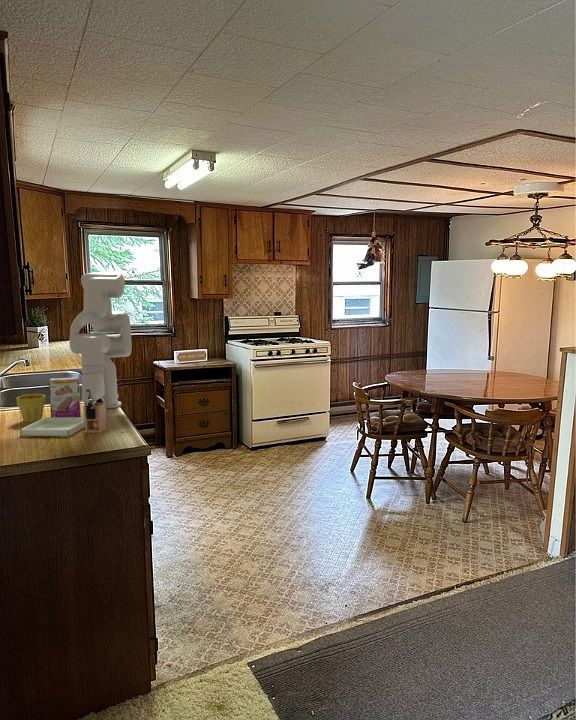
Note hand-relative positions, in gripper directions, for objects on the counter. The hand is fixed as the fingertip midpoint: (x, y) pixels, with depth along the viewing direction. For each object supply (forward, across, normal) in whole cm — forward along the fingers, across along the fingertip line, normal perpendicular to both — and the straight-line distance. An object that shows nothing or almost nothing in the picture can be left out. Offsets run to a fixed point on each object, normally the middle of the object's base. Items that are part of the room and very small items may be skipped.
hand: (95, 416), depth 193 cm
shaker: (+5, 0, 0) cm, 5 cm away
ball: (+3, 0, 0) cm, 3 cm away
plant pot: (+6, -14, -32) cm, 35 cm away
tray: (+5, 0, -15) cm, 16 cm away
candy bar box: (+6, -18, -20) cm, 27 cm away
